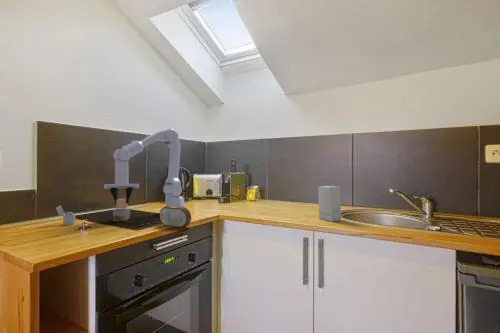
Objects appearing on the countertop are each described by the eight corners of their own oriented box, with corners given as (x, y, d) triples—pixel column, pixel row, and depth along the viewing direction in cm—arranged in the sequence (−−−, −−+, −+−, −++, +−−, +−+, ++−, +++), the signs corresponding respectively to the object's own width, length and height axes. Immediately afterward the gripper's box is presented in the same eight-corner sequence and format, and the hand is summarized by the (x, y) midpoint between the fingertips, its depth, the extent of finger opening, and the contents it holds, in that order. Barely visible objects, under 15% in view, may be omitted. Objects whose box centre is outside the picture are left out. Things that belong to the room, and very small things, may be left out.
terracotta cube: (127, 207, 129) (127, 198, 129) (125, 208, 125) (125, 199, 125) (118, 207, 128) (118, 198, 128) (116, 208, 124) (116, 200, 124)
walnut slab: (129, 219, 129) (129, 214, 129) (125, 221, 124) (125, 216, 124) (117, 219, 129) (117, 214, 129) (113, 222, 123) (113, 216, 123)
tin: (191, 227, 111) (191, 206, 111) (186, 229, 108) (186, 208, 108) (163, 224, 118) (163, 204, 118) (158, 225, 115) (158, 205, 115)
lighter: (75, 223, 118) (75, 205, 118) (73, 224, 116) (73, 206, 116) (57, 224, 117) (57, 205, 117) (55, 225, 115) (55, 206, 115)
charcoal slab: (130, 214, 128) (130, 209, 128) (122, 216, 123) (122, 211, 123) (120, 214, 130) (120, 208, 130) (112, 216, 124) (112, 210, 124)
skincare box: (341, 220, 124) (341, 186, 124) (330, 222, 121) (330, 187, 120) (327, 217, 131) (327, 185, 131) (317, 219, 128) (317, 186, 128)
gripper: (139, 174, 132) (140, 202, 132) (107, 174, 128) (107, 203, 128) (137, 174, 125) (137, 204, 125) (102, 175, 121) (102, 205, 121)
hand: (122, 203), depth 126 cm, fingers closed on terracotta cube, 4 cm apart
